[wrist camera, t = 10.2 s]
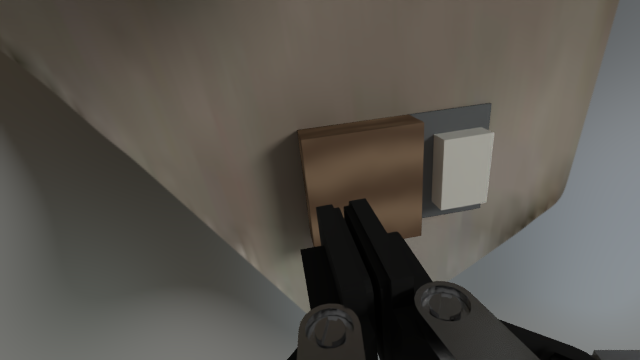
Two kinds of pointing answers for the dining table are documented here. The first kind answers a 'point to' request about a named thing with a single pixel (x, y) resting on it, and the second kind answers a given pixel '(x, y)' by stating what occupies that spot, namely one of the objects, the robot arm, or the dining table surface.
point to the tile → (461, 167)
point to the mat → (441, 124)
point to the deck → (366, 170)
